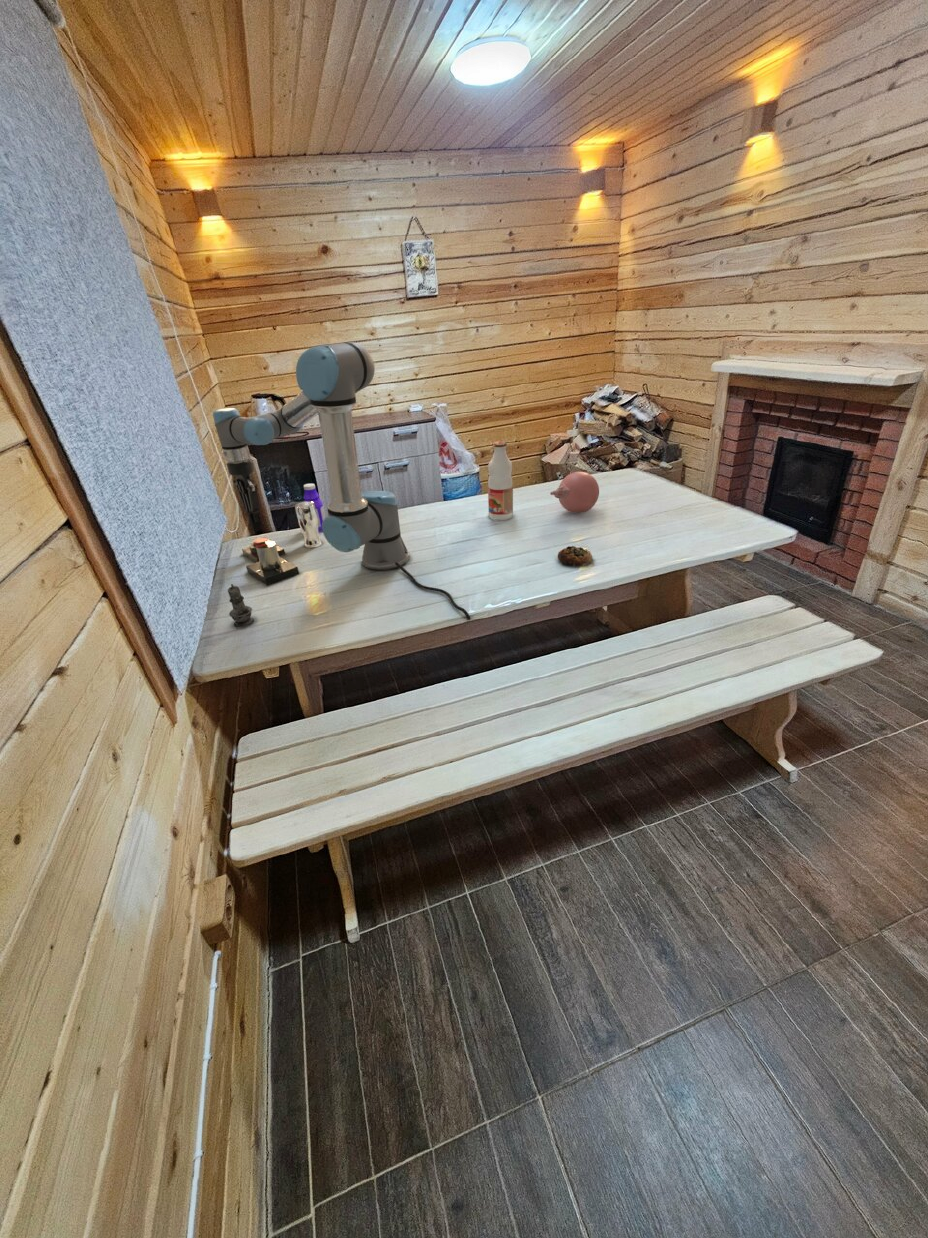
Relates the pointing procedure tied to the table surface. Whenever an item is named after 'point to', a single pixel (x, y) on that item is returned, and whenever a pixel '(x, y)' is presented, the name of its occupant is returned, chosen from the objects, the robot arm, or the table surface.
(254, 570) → the timer panel
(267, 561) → the timer dial
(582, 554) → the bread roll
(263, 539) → the button
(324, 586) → the table surface
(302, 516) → the beer glass
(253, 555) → the box
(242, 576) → the table surface
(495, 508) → the fruit juice
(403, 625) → the table surface
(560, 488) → the balloon
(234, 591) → the grey ringed upright piece
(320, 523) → the bottle
